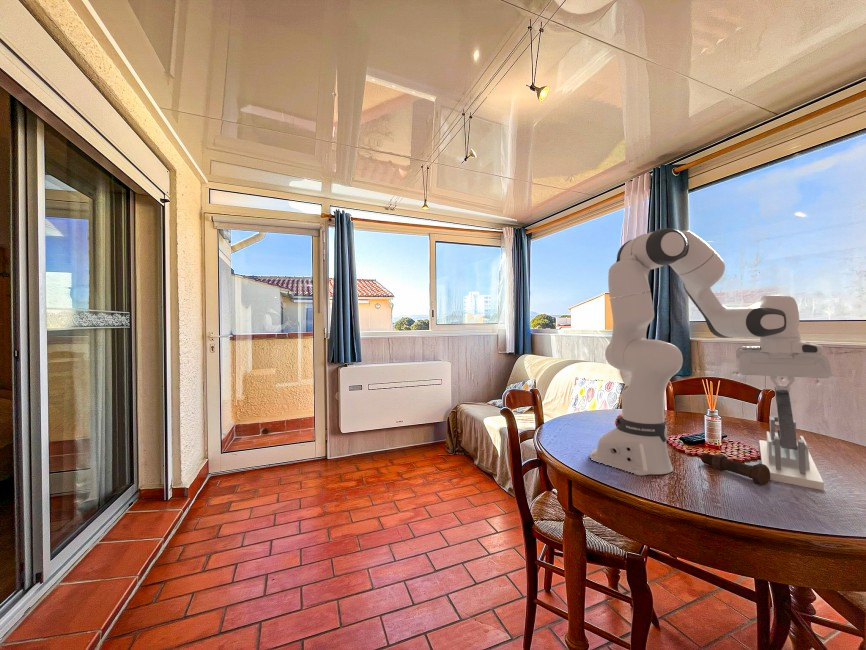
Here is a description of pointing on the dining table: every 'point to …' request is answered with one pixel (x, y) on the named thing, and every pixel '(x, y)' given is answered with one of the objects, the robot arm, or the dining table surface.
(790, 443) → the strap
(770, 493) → the dining table surface
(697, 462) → the dining table surface
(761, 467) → the bolt
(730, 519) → the dining table surface
